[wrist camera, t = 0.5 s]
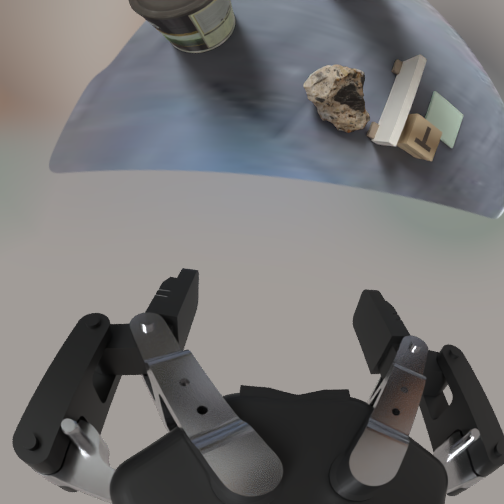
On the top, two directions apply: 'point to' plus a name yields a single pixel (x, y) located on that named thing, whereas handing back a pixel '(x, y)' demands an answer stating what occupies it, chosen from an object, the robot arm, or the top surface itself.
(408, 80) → the screen
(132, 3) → the coffee can
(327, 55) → the top surface
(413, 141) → the letter cube
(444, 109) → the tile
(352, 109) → the rock
